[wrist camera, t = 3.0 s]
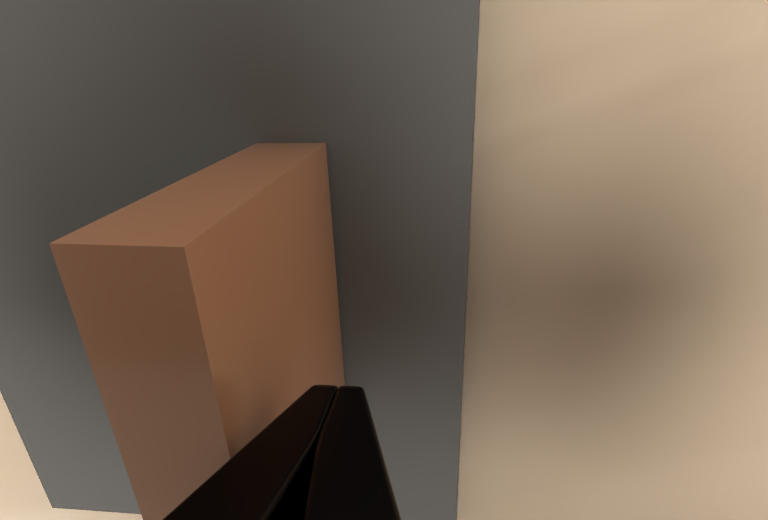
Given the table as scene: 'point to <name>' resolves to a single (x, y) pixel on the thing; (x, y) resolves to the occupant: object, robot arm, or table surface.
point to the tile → (207, 312)
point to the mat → (216, 142)
